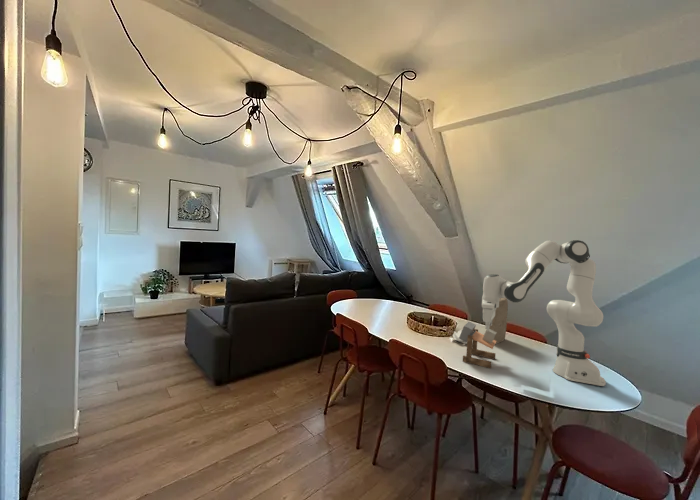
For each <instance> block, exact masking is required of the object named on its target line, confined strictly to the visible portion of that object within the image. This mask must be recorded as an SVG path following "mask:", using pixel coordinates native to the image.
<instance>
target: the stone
mask: <svg viewBox="0 0 700 500" xmlns="http://www.w3.org/2000/svg"><path fill="white" fill-rule="evenodd" d="M496 333H497V332H495V331H493V330H491V329H489V330H488V329H485V333H484V334H483V335H484V337H483V340H485V341H487V342H489V343H491V344H492V342H493V340H494V338H495V335H496Z"/></svg>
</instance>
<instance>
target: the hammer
mask: <svg viewBox="0 0 700 500" xmlns="http://www.w3.org/2000/svg"><path fill="white" fill-rule="evenodd" d="M476 327H477V324H475V323H474V322H471V321H467V322H466V323H465V324H464V326H463V328H462V329H461V330H462V332H461V334H460V337H459V339H461V340H463V341H465V342H467V339H468V335H471V336H473V340H475V341H477V343H479V344H482V345H483V346H485V347H487V348H489V349H491V350H493V349H494V347H495V346H496V344H497V343H496V341H495V340H493V342H492V344H491V343H489V342H487V341H485V340H483V337H484V334H483V333H481V332H479V331H478V332H477V331H474V329H476ZM473 331H474V332H473ZM473 340H472V341H473ZM495 343H496V344H495Z"/></svg>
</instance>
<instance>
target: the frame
mask: <svg viewBox="0 0 700 500" xmlns="http://www.w3.org/2000/svg"><path fill="white" fill-rule="evenodd" d="M474 331H477V332H479V329H477V328H475V329H474ZM474 331H473V332H474ZM472 355H475V356H479V357H480V356H481V357H484V358H488V359H494V360H496V352H493V351H492V352H491V351H486V350H482V349H478V342H477V341H475V340H473V336H471V335H468V339H467V344H466V355H463V356H462V362H463V363H466V364H467V363H468V364H472V365H475V366H481V367H484V368H488V369H491V368H492V361H490V360H484V359H480V358H476V357H472Z"/></svg>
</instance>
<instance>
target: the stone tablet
mask: <svg viewBox="0 0 700 500" xmlns="http://www.w3.org/2000/svg"><path fill="white" fill-rule="evenodd" d="M508 304H509V303H508V299H506V298H504V297H500V298H499V307H498V308H496V310H495V317H494V318H493V321H492V326H490V327H489V329H491V330H493V331H495V332H497V333H496V335H495V338H494V340H495V341H496V343H495V345H496V344H499V343H501V342H504V341H505V339H506V335H507V325H508V324H507V323H508V322H507V320H508V307H509V305H508Z"/></svg>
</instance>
